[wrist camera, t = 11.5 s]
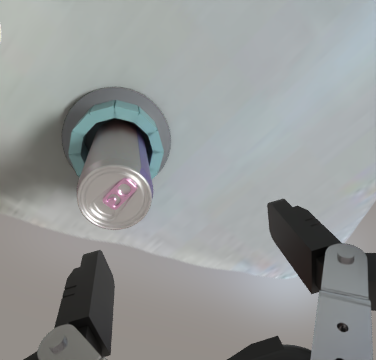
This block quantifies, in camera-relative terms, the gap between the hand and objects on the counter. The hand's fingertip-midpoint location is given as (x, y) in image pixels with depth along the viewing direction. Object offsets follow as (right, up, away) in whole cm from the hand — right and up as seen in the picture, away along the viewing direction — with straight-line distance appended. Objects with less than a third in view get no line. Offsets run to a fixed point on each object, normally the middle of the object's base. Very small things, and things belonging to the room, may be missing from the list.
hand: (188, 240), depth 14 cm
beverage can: (-8, +8, +22) cm, 25 cm away
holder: (-9, +8, +23) cm, 26 cm away
